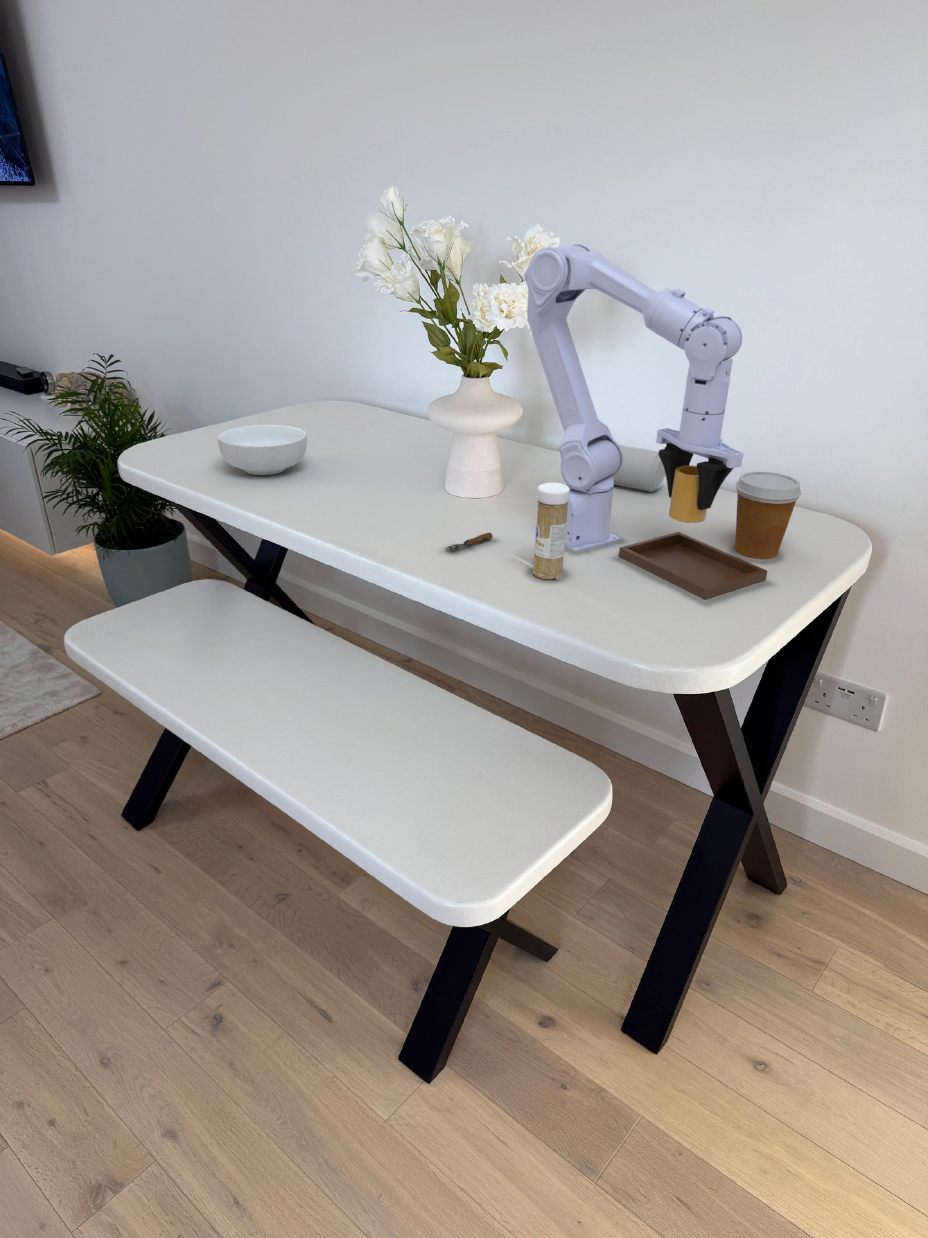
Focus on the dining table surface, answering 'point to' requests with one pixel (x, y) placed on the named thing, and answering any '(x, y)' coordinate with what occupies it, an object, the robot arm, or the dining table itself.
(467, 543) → the can opener
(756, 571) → the tray
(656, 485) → the can
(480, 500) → the dining table surface
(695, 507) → the cup
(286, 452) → the cereal bowl
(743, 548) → the disposable coffee cup
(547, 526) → the sprinkles bottle
